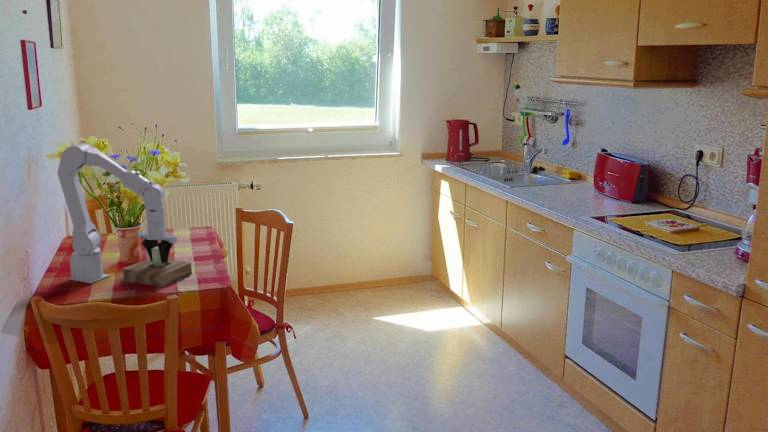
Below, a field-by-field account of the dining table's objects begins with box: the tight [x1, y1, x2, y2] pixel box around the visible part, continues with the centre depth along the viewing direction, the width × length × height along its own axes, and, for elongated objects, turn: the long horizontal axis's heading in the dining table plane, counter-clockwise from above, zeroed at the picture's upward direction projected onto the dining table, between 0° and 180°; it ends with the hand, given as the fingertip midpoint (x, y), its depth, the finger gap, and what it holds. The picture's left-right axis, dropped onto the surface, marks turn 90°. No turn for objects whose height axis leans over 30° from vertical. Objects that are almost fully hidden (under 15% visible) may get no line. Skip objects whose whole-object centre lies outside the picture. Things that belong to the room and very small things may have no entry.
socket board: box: [122, 258, 193, 288], centre depth 210 cm, size 16×14×4 cm
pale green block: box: [151, 246, 166, 268], centre depth 210 cm, size 4×4×6 cm
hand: (159, 261), depth 210 cm, fingers closed on pale green block, 4 cm apart
